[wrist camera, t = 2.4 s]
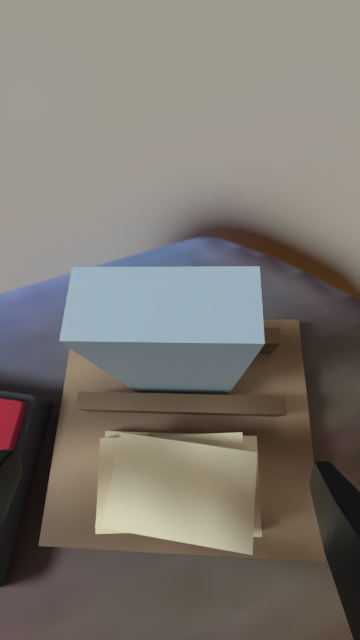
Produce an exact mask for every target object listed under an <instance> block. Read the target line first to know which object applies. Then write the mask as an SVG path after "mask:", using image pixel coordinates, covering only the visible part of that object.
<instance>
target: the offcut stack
mask: <svg viewBox="0 0 360 640" xmlns="http://www.w3.org/2000/svg"><path fill="white" fill-rule="evenodd" d="M95 528H96V529H95V534H114V533H133V534H138V535H144V536H149V537H155V538H160V539H166V540H171V541H177V542H182V543H188V544H193V545H199V546H204V547H210V548H215V549H221V550H226V551H232V552H237V553H243V554H248V555H253V537H262V529H261V510H260V490H259V471H258V452H257V436H243V435H242V432H234V433H210V434H181V433H150V432H119V431H105V438H100V446H99V467H98V488H97V509H96V523H95Z"/></svg>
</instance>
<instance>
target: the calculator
mask: <svg viewBox="0 0 360 640" xmlns="http://www.w3.org/2000/svg"><path fill="white" fill-rule="evenodd" d="M51 408H52V401H51V400H50V399H48V398H44V397H40V396H36V395H31V394H25V393H18V392H11V391H4V390H0V450H3V449H12V450H15V451H16V452H17V454H18V457H19V460H20V463H21V466H22V475H21V478H20V480H19V483H18V486H17V488H16V491H15V493H14V496H13V498H12V501H11V503H10V506H9V508H8V511H7V513H6V516H5V519H4V521H3V523H2V526H1V528H0V587H1V586H2V585H3V583H4V581H5V579H6V575H7V571H8V568H9V564H10V560H11V557H12V553H13V549H14V545H15V542H16V538H17V534H18V531H19V527H20V523H21V519H22V516H23V512H24V508H25V504H26V501H27V497H28V493H29V490H30V486H31V482H32V478H33V475H34V471H35V467H36V464H37V460H38V456H39V452H40V449H41V445H42V441H43V438H44V434H45V430H46V426H47V423H48V419H49V415H50V411H51Z"/></svg>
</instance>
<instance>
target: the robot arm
mask: <svg viewBox="0 0 360 640" xmlns="http://www.w3.org/2000/svg"><path fill="white" fill-rule="evenodd" d="M21 475H22V466H21V463H20V460H19V457H18V454H17V452H16V451H15V450H12V449H3V450H0V528H1V526H2V523H3V521H4V519H5V516H6V513H7V511H8V508H9V506H10V503H11V501H12V498H13V496H14V493H15V491H16V488H17V486H18V483H19V480H20V478H21ZM309 486H310V491H311V496H312V500H313V505H314V509H315V513H316V518H317V522H318V527H319V531H320V536H321V540H322V544H323V548H324V551H325V554H326V557H327V560H328V563H329V566H330V569H331V572H332V576H333V579H334V582H335V585H336V588H337V591H338V594H339V597H340V600H341V603H342V606H343V609H344V612H345V615H346V618H347V621H348V624H349V627H350V630H351V633H352V636H353V639H354V640H360V492H359V491H358V490H357V489H356V488H355V487H354V486H353V485H352V484H351V483H350V482H349V481H348V480H347V479H346V478H345V477H344V476H343V475H342V474H341V473H340V472H339V471H338V470H337V469H336V468H335V467H334V466H333V465H332V464H331V463H329V462H326V461H315V462H314V463H313V467H312V471H311V476H310V480H309Z"/></svg>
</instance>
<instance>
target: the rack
mask: <svg viewBox="0 0 360 640" xmlns="http://www.w3.org/2000/svg"><path fill="white" fill-rule="evenodd" d="M263 323H264V337H265V344H264V346H263V347H262V349H261V350H260V351H259V353H258V354H257V355H256V357H255V358H254V360H253V361H252V362H251V364H250V365H249V367H248V368H247V369H246V371H245V372H244V373H243V375H242V376H241V378H240V379H239V380H238V382H237V383H236V384H235V386H234V387H233V389H232V390H231V391H230V393H229V394H228V395H220V394H178V393H137V392H135V391H134V390H132V389H131V388H129V387H128V386H126V385H125V384H123V383H122V382H120V381H118V380H117V379H115V378H114V377H112V376H111V375H109V374H108V373H106V372H105V371H103V370H102V369H100V368H99V367H97V366H96V365H94V364H93V363H91V362H90V361H88V360H87V359H85V358H84V357H82V356H81V355H79V354H78V353H76V352H75V351H73V350H72V349H70V350H69V357H68V363H67V369H66V375H65V382H64V388H63V394H62V401H61V407H60V413H59V419H58V426H57V432H56V438H55V445H54V451H53V457H52V463H51V470H50V476H49V482H48V489H47V495H46V501H45V507H44V514H43V520H42V526H41V532H40V539H39V545H38V546H48V547H65V548H82V549H99V550H116V551H133V552H151V553H168V554H185V555H202V556H219V557H236V558H254V559H271V560H288V561H305V562H322V563H325V555H324V548H323V544H322V540H321V536H320V531H319V527H318V522H317V518H316V513H315V509H314V505H313V500H312V496H311V491H310V486H309V480H310V476H311V471H312V467H313V463H314V455H313V446H312V436H311V427H310V418H309V409H308V400H307V391H306V382H305V373H304V364H303V355H302V346H301V336H300V327H299V319H263ZM105 431H119V432H150V433H181V434H210V433H234V432H242V435H243V436H257V452H258V471H259V490H260V510H261V529H262V537H253V555H248V554H243V553H237V552H232V551H226V550H221V549H215V548H210V547H204V546H199V545H193V544H188V543H182V542H177V541H171V540H166V539H160V538H155V537H149V536H144V535H138V534H133V533H114V534H95V529H96V528H95V523H96V509H97V488H98V467H99V446H100V438H105Z"/></svg>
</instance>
